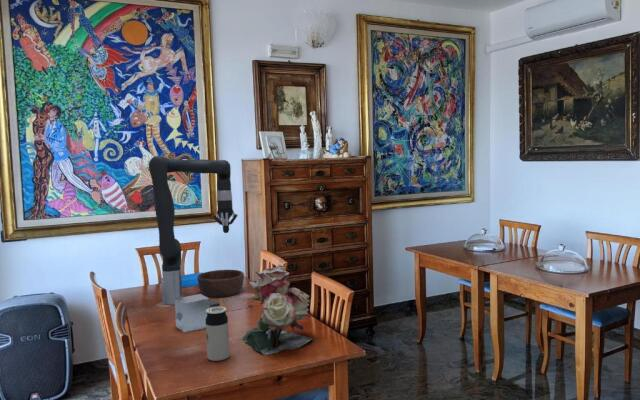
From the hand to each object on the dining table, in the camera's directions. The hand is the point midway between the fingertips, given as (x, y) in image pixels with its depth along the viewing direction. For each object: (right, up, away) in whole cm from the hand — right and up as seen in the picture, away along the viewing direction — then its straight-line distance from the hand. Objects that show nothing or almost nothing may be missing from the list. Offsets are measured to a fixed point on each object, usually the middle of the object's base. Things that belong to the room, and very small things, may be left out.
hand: (226, 232), depth 266 cm
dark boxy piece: (-6, -38, -38) cm, 54 cm away
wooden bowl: (-6, -34, +18) cm, 39 cm away
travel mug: (+11, -41, -75) cm, 86 cm away
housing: (-7, -39, -39) cm, 55 cm away
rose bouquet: (+32, -39, -60) cm, 79 cm away
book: (-31, -33, +41) cm, 62 cm away
